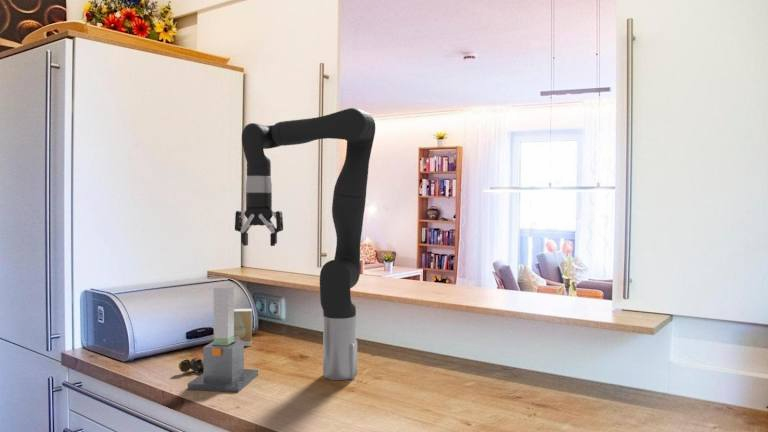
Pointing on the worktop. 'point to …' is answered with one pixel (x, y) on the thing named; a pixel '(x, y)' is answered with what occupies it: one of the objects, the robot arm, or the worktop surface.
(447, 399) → the worktop surface
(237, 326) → the skincare box
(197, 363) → the regulator
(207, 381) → the stand base
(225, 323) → the column
